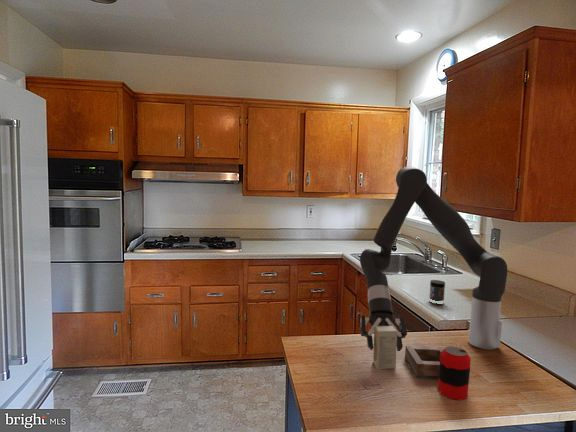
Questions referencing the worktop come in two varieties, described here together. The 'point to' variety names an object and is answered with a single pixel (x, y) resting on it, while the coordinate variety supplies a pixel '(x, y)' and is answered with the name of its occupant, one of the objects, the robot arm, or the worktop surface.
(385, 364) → the skincare box
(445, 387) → the soda can
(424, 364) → the walnut holder block
